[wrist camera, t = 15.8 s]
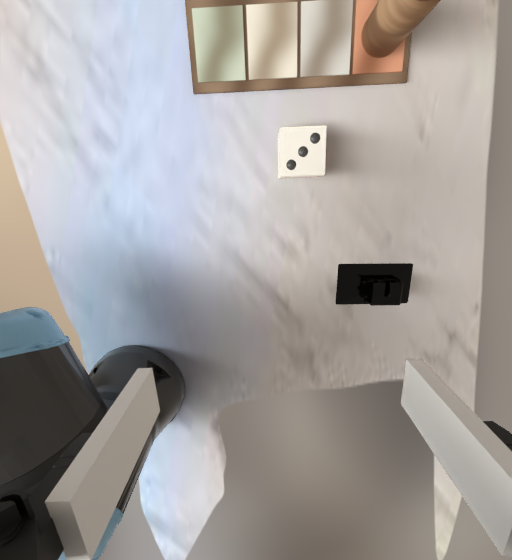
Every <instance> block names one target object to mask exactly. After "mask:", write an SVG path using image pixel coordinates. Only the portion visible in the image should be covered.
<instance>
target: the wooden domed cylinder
mask: <svg viewBox="0 0 512 560" xmlns="http://www.w3.org/2000/svg"><path fill="white" fill-rule="evenodd" d="M439 1H440V0H379V1H378V2H377V4H376V6H375V7H374V9H373V11H372V12H371V14H370V15H369V17H368V19H367V20H366V22H365V24H364V26H363V29H362V34H361V40H362V45H363V48H364V50H365V51H366V52H367V53H368V54H369V55H370V56H372V57H375V58H382V57H386V56H388V55H389V54H391V53H392V52H393V51H394V50H395V49H396V48H397V47H398V46H399V45H400V43H401V42H402V41H403V40H404V39H405V38H406V37H407V36H408V35H409V34H410V33H411V32H412V31H413V29H414V28H415V27H416V26H417V25H418V24H419V23H420V22H421V21H422V20H423V19H424V18H425V17H426V15H427V14H428V13H429V12H430V11H431V10H432V9H433V8H434V7H435V6H436V5H437V4H438V3H439Z"/></svg>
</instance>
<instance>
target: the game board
mask: <svg viewBox="0 0 512 560" xmlns="http://www.w3.org/2000/svg"><path fill="white" fill-rule="evenodd" d="M378 1H379V0H185V6H186V17H187V28H188V39H189V50H190V61H191V71H192V82H193V93H194V94H208V93H226V92H245V91H264V90H283V89H302V88H321V87H340V86H359V85H378V84H397V83H406V81H407V72H408V62H409V53H410V43H411V33H412V32H411V33H410V34H409V35H408V36H407V37H406V38H405V39H404V40H403V41H402V42H401V43H400V45H399V46H398V47H397V48H396V49H395V50H394V51H393V52H392V53H391V54H389V55H388V56H386V57H382V58H375V57H372V56H370V55H369V54H368V53H367V52H366V51H365V50H364V48H363V45H362V40H361V34H362V29H363V26H364V24H365V22H366V20H367V19H368V17H369V15H370V14H371V12H372V11H373V9H374V7H375V6H376V4H377V2H378Z"/></svg>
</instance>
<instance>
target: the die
mask: <svg viewBox="0 0 512 560" xmlns="http://www.w3.org/2000/svg"><path fill="white" fill-rule="evenodd" d="M326 129H327V125H323V126H303V127H282V128H280V130H279V134H278V179H281V178H306V177H319V176H323V175H325V159H326Z"/></svg>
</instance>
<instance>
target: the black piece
mask: <svg viewBox="0 0 512 560" xmlns="http://www.w3.org/2000/svg"><path fill="white" fill-rule="evenodd" d="M412 268H413V264H339V266H338V279H337V292H336V304H370V305H400V303H407V302H408V296H409V289H410V282H411V275H412Z"/></svg>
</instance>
